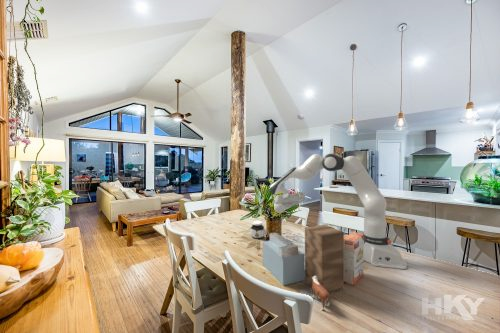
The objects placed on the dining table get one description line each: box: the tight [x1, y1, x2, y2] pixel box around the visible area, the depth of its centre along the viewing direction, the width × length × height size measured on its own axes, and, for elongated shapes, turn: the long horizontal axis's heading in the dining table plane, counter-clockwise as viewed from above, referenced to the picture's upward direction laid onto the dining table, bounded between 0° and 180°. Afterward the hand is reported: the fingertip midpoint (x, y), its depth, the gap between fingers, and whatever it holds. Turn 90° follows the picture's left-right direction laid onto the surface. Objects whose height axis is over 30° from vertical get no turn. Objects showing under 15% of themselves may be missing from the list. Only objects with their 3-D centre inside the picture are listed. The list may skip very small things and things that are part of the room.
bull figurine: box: [310, 276, 331, 311], centre depth 89 cm, size 4×13×8 cm, turn 7°
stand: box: [304, 224, 345, 294], centre depth 100 cm, size 12×12×26 cm
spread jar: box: [250, 220, 267, 240], centre depth 166 cm, size 12×11×12 cm
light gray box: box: [269, 232, 299, 258], centre depth 112 cm, size 22×9×4 cm, turn 22°
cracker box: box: [343, 231, 365, 286], centre depth 106 cm, size 14×6×21 cm, turn 136°
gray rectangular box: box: [262, 240, 305, 286], centre depth 113 cm, size 22×12×13 cm, turn 22°
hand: (295, 193), depth 129 cm, fingers open, 8 cm apart
